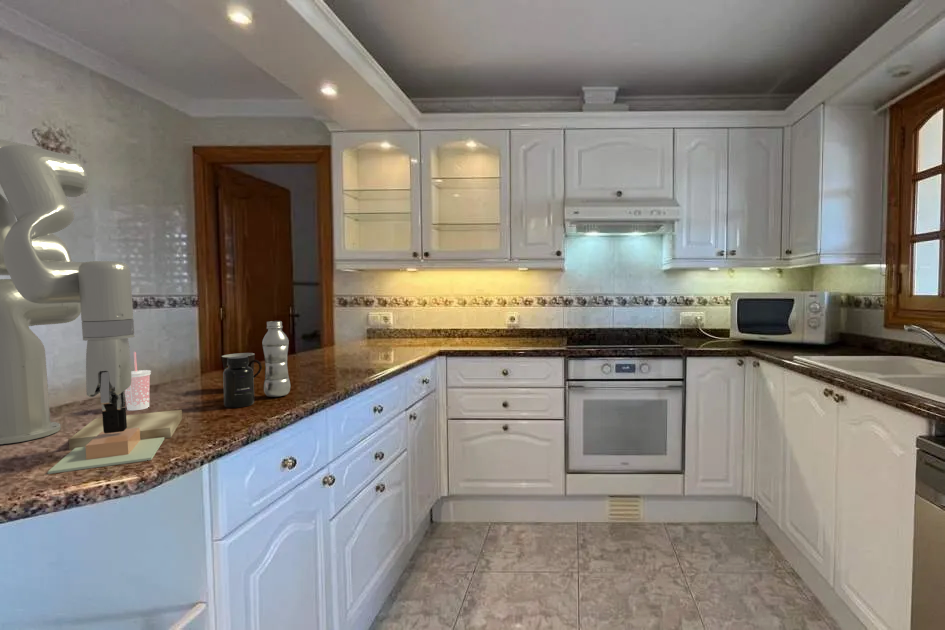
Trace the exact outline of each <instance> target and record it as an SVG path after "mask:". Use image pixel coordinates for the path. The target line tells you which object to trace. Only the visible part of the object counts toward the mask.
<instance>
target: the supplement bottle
mask: <svg viewBox="0 0 945 630" xmlns="http://www.w3.org/2000/svg"><path fill="white" fill-rule="evenodd" d="M248 364H249V358H248V357H247V356H236V357H229V358H227V365H228V368H227V369H225V370H224V369H223V372H222V382H223V383H222V384H223V405H224V407H226V408H228V409H231V408H232V409H235V408H237V409H238V408H245V407H249V406H252V405H253V404H254V403H255V387H254V386H255V385H254V379H255V378H254V377H253V376H254V371H253V370H252V368H250V367H248Z"/></svg>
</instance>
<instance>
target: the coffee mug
mask: <svg viewBox="0 0 945 630" xmlns="http://www.w3.org/2000/svg"><path fill="white" fill-rule="evenodd" d="M255 355H256V354H255V353H253V352H240V353H230V354H224V355H221V360H222V361H221V362H222V366H223V371H224V370H225V369H227V368H228V365H227V358H229V357H236V356H247V357H248V358H249V364H248V367H250V368H252V370H253V372H254V369H255V363H257V364H258V367H259V369H258V371H257V372H256V373H255V374H253V377H254V379H255V378H256V377H257V376H258V375H259V374H260V373H261V371H262V367H263V365H262V363H261V362H260V361H259V360H258V359H255V357H256V356H255Z"/></svg>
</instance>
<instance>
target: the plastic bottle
mask: <svg viewBox="0 0 945 630" xmlns="http://www.w3.org/2000/svg"><path fill="white" fill-rule="evenodd" d="M283 327H284V326H283V322H282V321H281V320H274V321H272V320H271V321H266V330H267V332H266V333H265V335H264V337H263V339H262V342H261V343H262V349H263V355H264V362H265V363H264V365H265V366H264V367H265V372H264V373H265V374H264V382H263V392H264V394H265V395H266V397H270V398H273V397H274V398H280V397H283V396H286V395H288V394H289V393H290V391H291V381H290V377H289V370H288V352H289V344H290V343H289V341H290V340H289V338H288V336H287V334H286V333H285V332H284V331H283Z"/></svg>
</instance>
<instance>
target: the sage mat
mask: <svg viewBox="0 0 945 630" xmlns="http://www.w3.org/2000/svg"><path fill="white" fill-rule="evenodd" d="M164 441H165V438H164V437H161V438H152V439H144V440H140V441H139V442H138V444H137V445H136V446H135V447H134V448H133V450H132V451H131V452H130V453H129V454H127V455H119V456H111V457H103V458H95V459H88V460H86V447H78V448H74V449H73V450H70V452H69V453H67V454H66V455H65V456H64V457H63V458H61V459H60V460H59V461H58V462H57V463H55V465H53V466H52V467H51V468H50V469H49V470H47V474H48V475H49V474H57V473H59V474H60V473H65V472H72V471H73V472H74V471H79V470H80V471H81V470H89V469H95V468H101V467H102V468H103V467H110V466H116V465H125V464H133V463H138V462H148V461H152V459H154V457H155V455H156V453H157V452H158V450H159V449H160V446H161V445H162V444H163V442H164ZM147 460H148V461H147Z"/></svg>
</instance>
